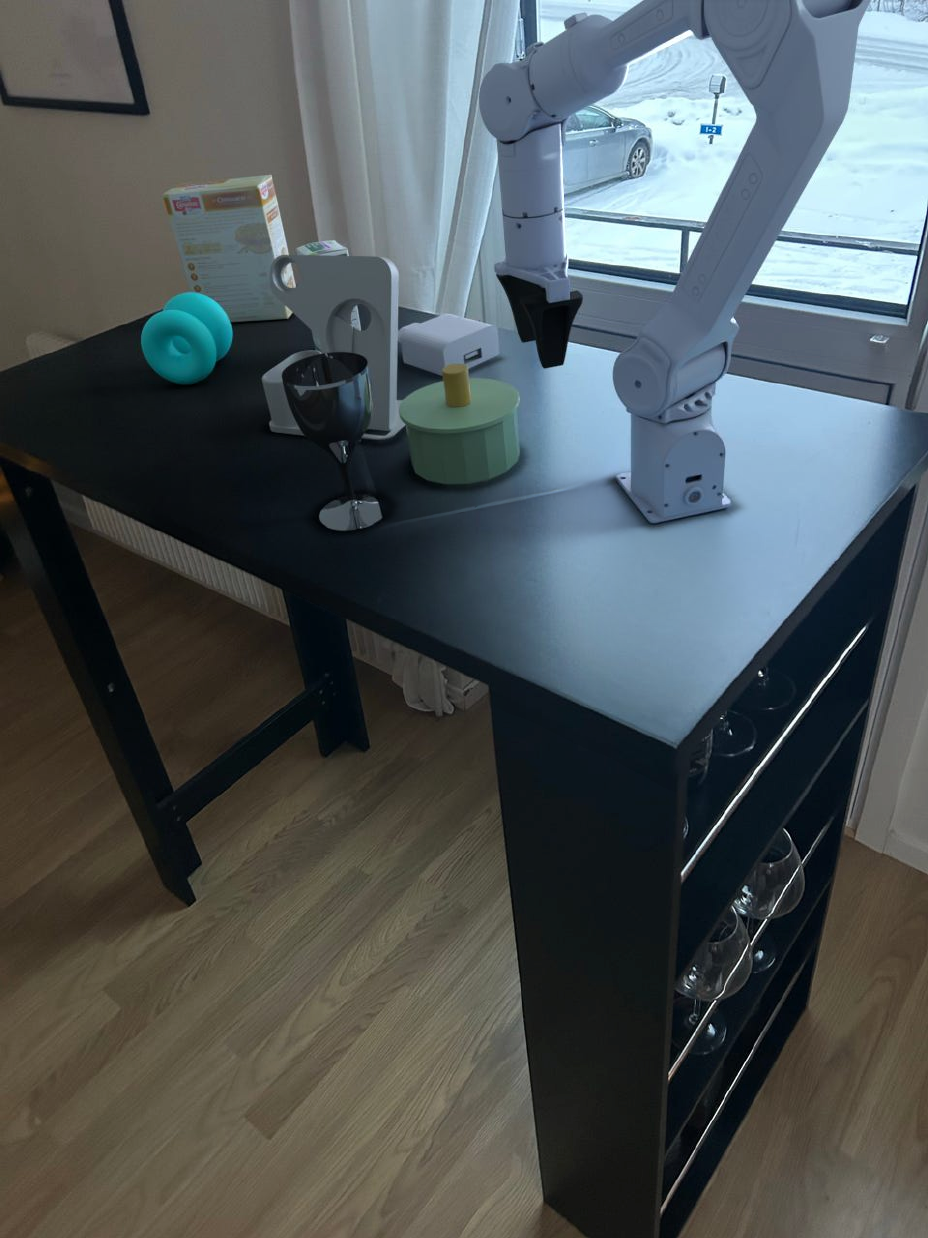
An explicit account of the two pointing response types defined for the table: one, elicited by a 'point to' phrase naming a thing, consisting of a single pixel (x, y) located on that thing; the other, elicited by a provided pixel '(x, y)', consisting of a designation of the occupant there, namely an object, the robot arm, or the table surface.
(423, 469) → the tin
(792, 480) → the table surface
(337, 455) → the wine glass
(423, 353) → the charger
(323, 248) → the syrup box
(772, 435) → the table surface
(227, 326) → the turquoise yo-yo
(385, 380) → the phone holder
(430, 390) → the lid
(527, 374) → the table surface
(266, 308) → the coffeecake box
